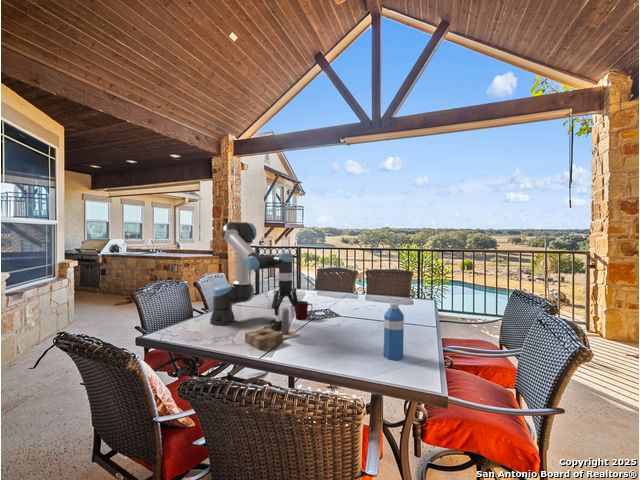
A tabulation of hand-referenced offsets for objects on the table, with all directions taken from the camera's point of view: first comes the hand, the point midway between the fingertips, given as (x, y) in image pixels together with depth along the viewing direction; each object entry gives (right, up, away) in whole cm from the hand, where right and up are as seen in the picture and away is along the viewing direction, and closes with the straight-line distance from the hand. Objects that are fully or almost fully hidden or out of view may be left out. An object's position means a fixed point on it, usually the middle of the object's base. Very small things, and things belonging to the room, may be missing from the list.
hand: (285, 319), depth 169 cm
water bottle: (+54, -10, -29) cm, 62 cm away
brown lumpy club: (-8, -9, +6) cm, 13 cm away
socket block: (-10, -9, -13) cm, 19 cm away
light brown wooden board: (0, -9, 0) cm, 9 cm away
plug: (0, -8, 0) cm, 8 cm away
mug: (+9, -9, +33) cm, 35 cm away
